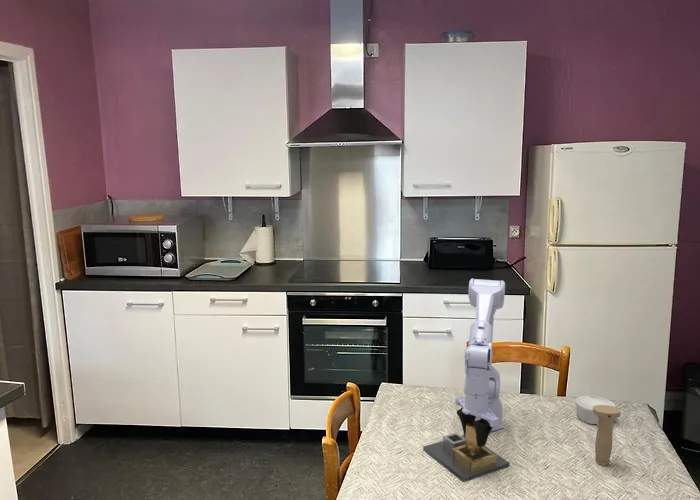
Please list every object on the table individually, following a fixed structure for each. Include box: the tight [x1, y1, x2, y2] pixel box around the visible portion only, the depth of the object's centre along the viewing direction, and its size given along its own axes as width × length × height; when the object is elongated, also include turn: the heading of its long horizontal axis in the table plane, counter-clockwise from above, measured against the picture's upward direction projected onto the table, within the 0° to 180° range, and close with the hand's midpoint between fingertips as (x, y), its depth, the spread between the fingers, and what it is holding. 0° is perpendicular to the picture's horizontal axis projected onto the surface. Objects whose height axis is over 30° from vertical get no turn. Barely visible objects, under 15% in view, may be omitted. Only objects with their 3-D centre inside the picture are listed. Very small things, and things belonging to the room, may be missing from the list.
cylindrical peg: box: [465, 421, 483, 455], centre depth 146 cm, size 4×4×7 cm
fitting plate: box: [422, 432, 511, 483], centre depth 150 cm, size 15×17×4 cm
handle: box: [593, 405, 622, 467], centre depth 146 cm, size 5×6×15 cm
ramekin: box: [574, 394, 616, 425], centre depth 172 cm, size 11×11×5 cm
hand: (474, 440), depth 146 cm, fingers closed on cylindrical peg, 4 cm apart
